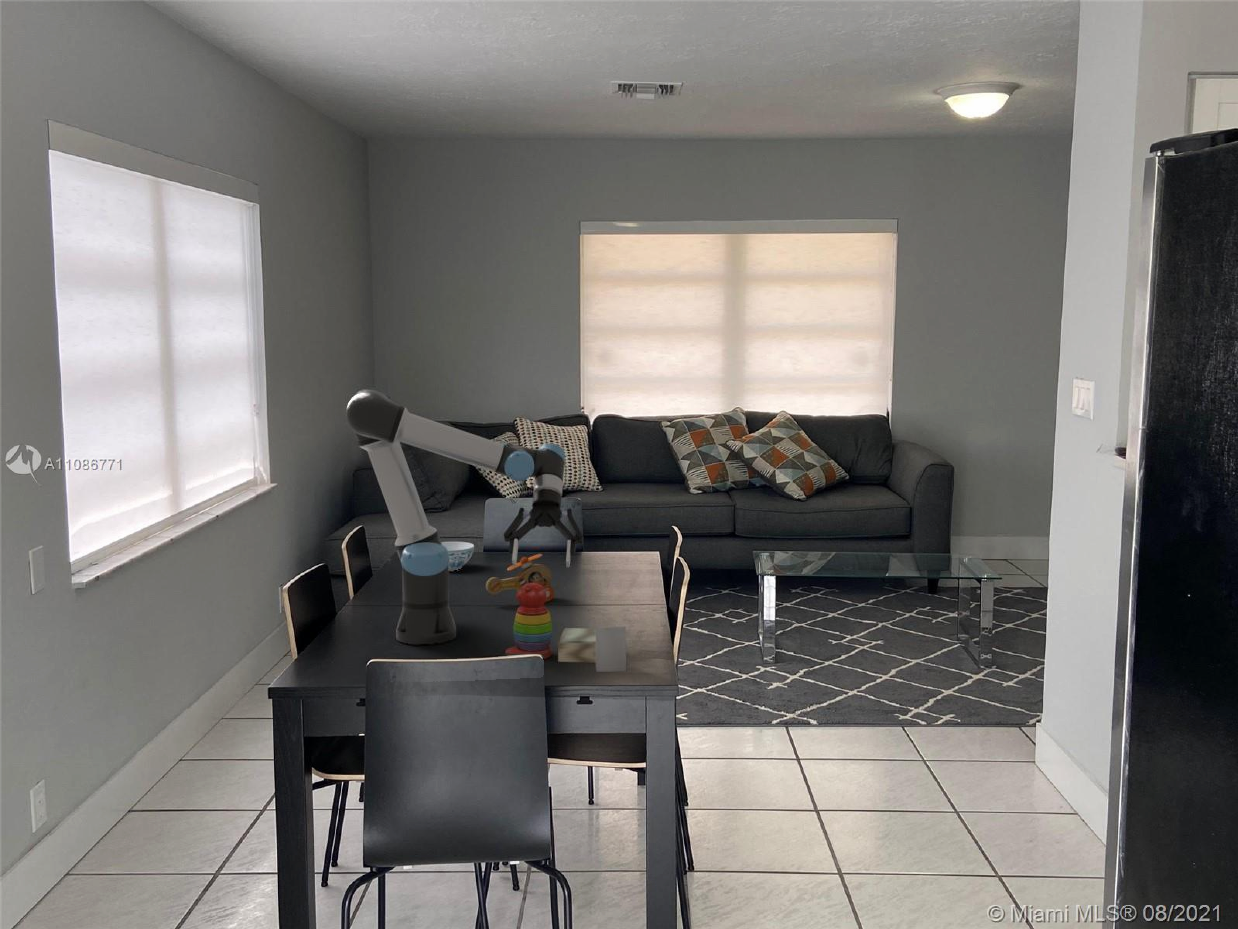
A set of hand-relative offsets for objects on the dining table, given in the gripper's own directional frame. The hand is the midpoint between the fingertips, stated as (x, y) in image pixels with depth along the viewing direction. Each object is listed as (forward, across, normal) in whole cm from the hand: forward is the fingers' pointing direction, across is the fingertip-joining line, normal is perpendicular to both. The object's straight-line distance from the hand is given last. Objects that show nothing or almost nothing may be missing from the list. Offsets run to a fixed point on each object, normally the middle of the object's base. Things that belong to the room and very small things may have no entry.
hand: (540, 564), depth 273 cm
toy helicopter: (-14, +10, -42) cm, 46 cm away
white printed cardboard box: (+30, -19, +2) cm, 35 cm away
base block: (+22, -12, -6) cm, 26 cm away
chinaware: (-44, +39, -73) cm, 93 cm away
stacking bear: (+23, +1, -5) cm, 23 cm away
